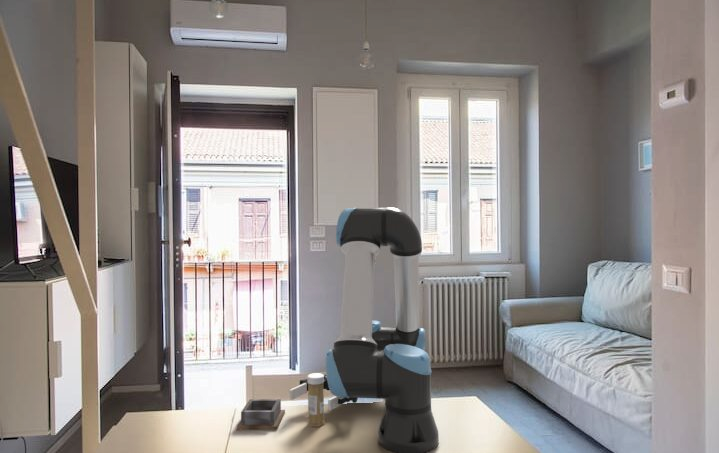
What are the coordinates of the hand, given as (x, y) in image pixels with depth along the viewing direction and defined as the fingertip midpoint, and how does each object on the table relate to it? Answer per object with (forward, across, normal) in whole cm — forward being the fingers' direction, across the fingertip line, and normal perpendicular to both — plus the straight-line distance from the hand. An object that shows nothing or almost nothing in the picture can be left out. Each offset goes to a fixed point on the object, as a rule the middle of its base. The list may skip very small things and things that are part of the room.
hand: (309, 399), depth 121 cm
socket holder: (+4, +14, -8) cm, 16 cm away
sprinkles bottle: (-3, 0, -8) cm, 8 cm away
